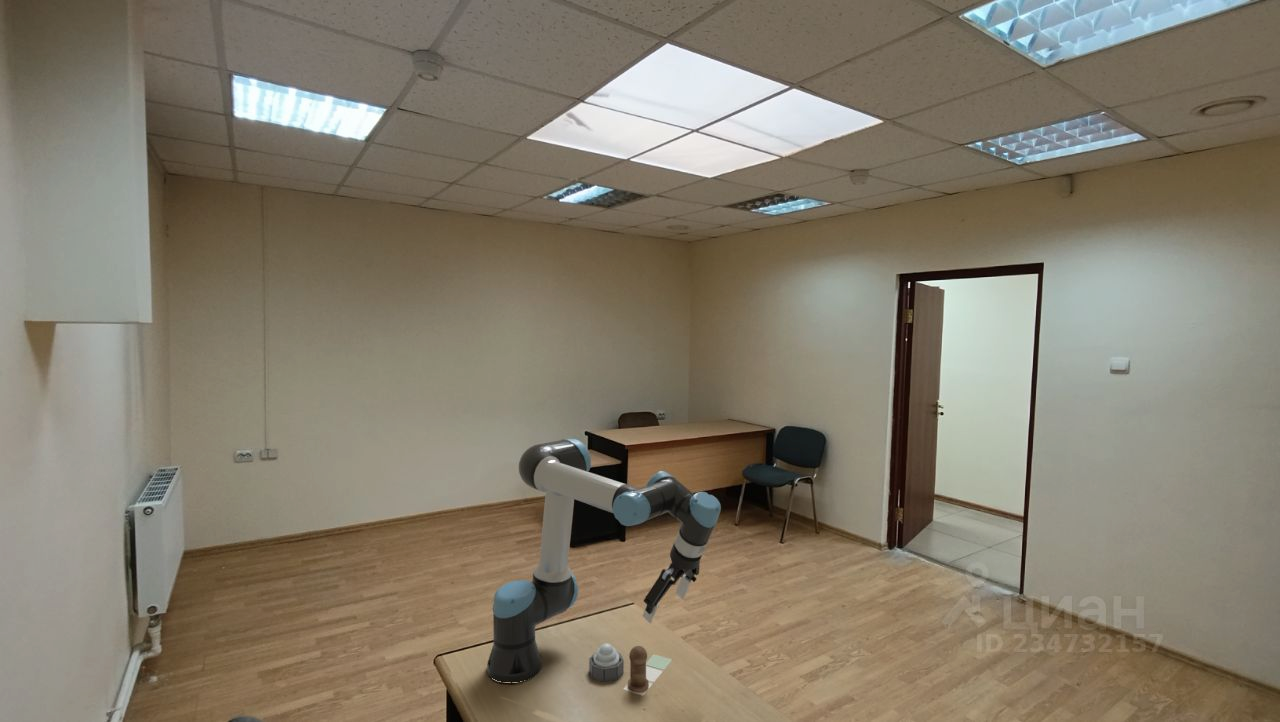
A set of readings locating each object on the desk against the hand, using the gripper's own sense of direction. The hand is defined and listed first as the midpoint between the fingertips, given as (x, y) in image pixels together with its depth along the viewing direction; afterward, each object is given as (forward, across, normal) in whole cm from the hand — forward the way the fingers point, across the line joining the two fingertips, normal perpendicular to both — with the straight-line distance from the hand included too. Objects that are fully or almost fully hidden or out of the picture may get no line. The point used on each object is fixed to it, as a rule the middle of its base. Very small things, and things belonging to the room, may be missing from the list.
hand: (663, 606), depth 152 cm
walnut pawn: (+22, -6, -5) cm, 23 cm away
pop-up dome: (+25, -7, +6) cm, 26 cm away
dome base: (+28, -8, +5) cm, 29 cm away
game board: (+24, 0, -4) cm, 24 cm away
